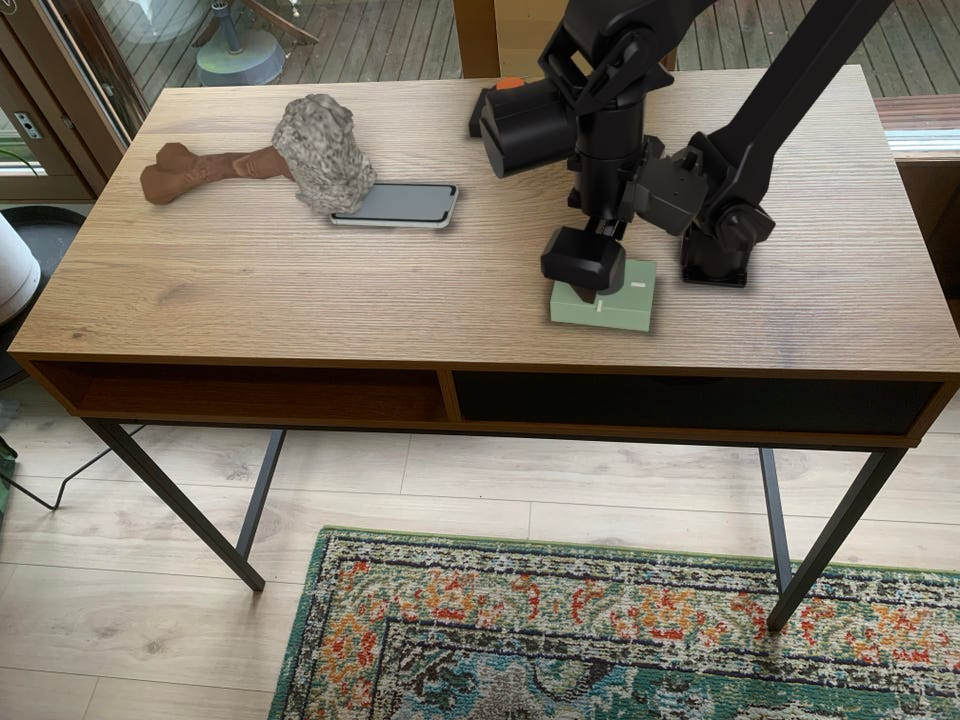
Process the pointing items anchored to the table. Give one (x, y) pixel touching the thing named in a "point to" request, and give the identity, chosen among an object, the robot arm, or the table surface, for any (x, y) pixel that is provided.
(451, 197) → the smartphone
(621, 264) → the dial
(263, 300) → the table surface
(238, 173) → the hammer
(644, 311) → the dial panel
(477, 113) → the button base
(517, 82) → the button
